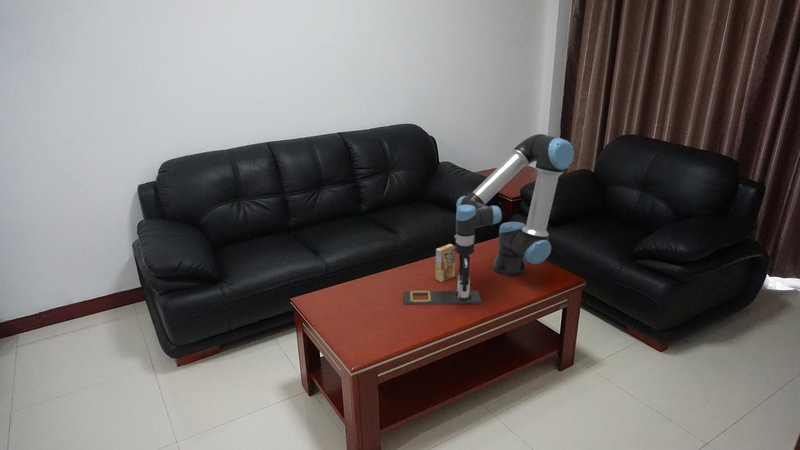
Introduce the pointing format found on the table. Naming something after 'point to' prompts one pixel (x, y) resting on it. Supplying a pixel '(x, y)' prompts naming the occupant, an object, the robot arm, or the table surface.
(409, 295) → the rail
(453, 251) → the candy box
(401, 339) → the table surface
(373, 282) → the table surface
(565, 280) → the table surface
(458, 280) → the steel block
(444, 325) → the table surface
